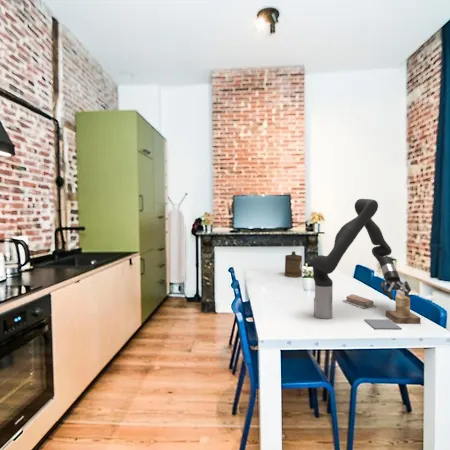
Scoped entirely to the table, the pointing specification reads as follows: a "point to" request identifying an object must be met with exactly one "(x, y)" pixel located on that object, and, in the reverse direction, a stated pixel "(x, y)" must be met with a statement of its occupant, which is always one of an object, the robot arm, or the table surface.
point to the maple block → (402, 306)
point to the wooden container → (293, 265)
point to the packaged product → (359, 301)
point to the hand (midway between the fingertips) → (400, 299)
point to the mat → (382, 324)
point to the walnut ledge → (403, 318)
